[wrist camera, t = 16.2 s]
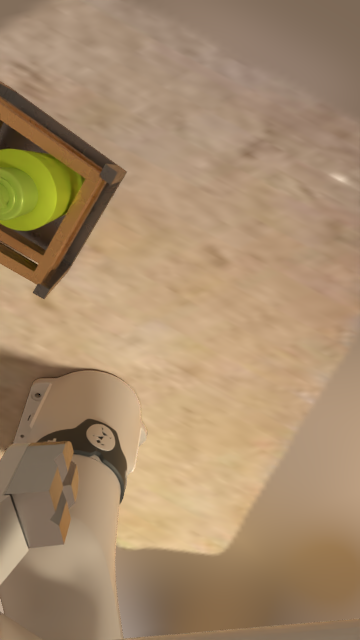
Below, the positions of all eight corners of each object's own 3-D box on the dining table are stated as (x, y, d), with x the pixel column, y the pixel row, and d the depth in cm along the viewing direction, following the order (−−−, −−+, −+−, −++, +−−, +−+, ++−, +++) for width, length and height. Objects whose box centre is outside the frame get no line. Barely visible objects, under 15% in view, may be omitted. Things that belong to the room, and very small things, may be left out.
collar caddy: (68, 271, 43) (44, 299, 34) (-44, 204, 39) (-105, 215, 30) (126, 171, 39) (117, 172, 30) (8, 86, 35) (-44, 57, 26)
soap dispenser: (15, 167, 37) (-122, 165, 19) (75, 148, 37) (-5, 127, 19) (38, 221, 40) (-63, 265, 21) (96, 203, 39) (42, 233, 21)
